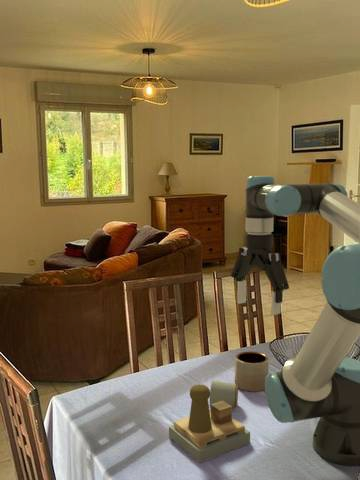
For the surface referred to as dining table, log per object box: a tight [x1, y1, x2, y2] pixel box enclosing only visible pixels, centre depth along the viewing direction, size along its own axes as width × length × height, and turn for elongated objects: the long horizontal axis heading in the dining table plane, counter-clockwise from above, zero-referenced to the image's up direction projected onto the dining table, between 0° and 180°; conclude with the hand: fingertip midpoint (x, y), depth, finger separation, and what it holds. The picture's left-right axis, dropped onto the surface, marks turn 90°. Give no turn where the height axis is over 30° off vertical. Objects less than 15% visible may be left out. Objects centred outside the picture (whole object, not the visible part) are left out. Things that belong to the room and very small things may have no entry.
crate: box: [210, 401, 233, 425], centre depth 133 cm, size 4×4×4 cm
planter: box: [234, 350, 270, 393], centre depth 163 cm, size 11×11×10 cm
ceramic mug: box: [208, 380, 239, 410], centre depth 151 cm, size 11×8×8 cm
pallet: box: [173, 409, 246, 448], centre depth 131 cm, size 12×14×2 cm
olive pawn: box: [188, 384, 212, 433], centre depth 129 cm, size 6×6×11 cm
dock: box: [168, 424, 251, 464], centre depth 132 cm, size 14×16×3 cm
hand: (258, 308), depth 141 cm, fingers open, 13 cm apart
